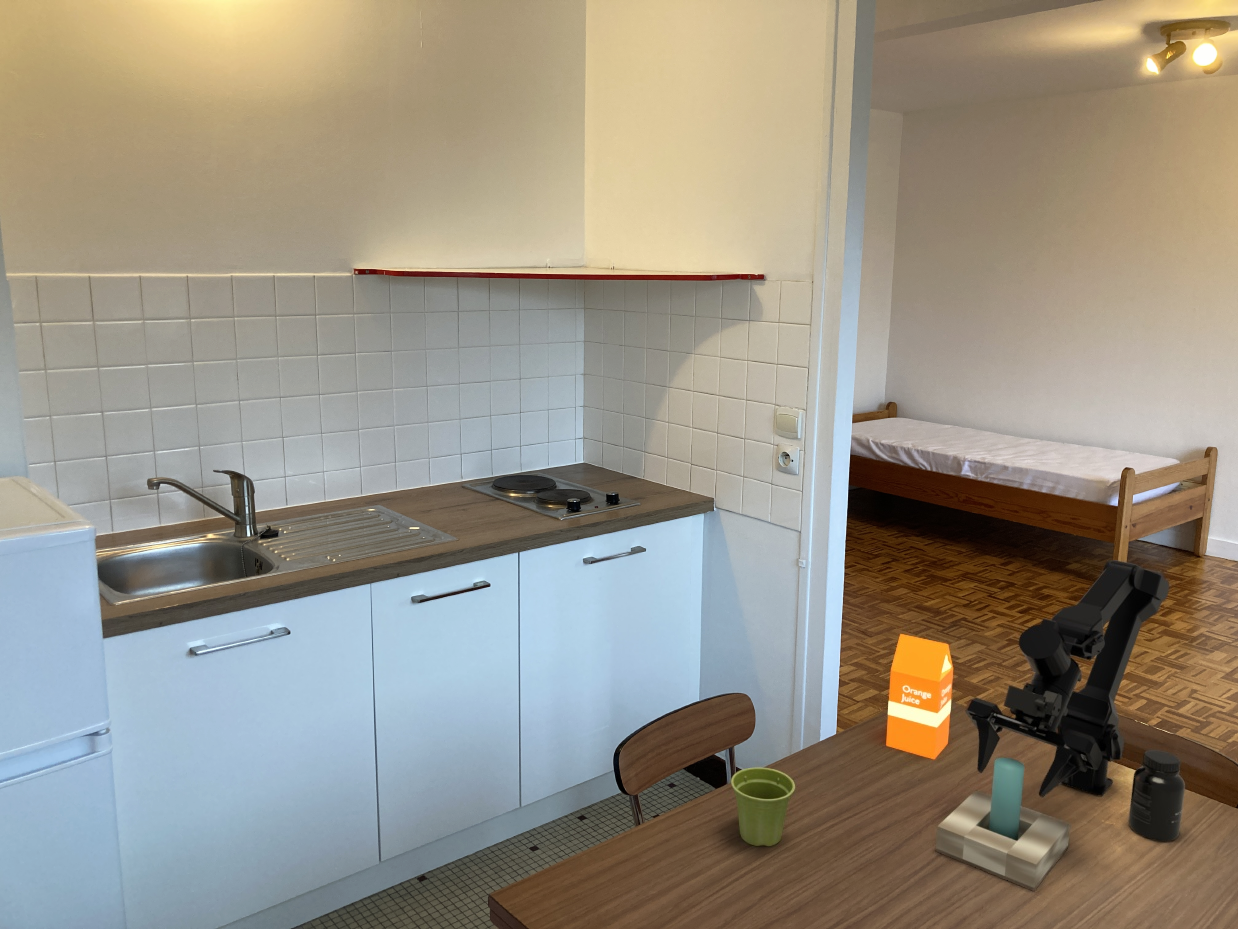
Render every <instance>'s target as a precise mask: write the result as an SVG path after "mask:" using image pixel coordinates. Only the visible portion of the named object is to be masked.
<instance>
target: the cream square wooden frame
mask: <svg viewBox="0 0 1238 929" xmlns="http://www.w3.org/2000/svg"><path fill="white" fill-rule="evenodd" d="M991 799H992V794H988V793H985V792H982V791H980V790H977V789H976V790H975V791H973V792H972V793H971V794H970V795H969V796H968V797H967V798H966V799H965V800H964V801H963V802H961V804H960V805H958V806H957V807H956V808H955V809H954V810H953V811H952V812H951V813H950V814H949V815H948V816H947V817H946V818H945V819H944V820H942V821H941V822H940V823H939V824H938V825H937V828H936V841H935V852H936V853H940V854H942V855H944V856H945V857H946V856H947V857H948V858H951V859H954V860H957V861H958V862H961V863H964V864H966V865H968V866H971V867H973V868H975V867H976V869H977V870H980V869H982V870H981V871H983V872H986V873H988V872H989V873H988V874H990V875H993V876H995V877H998V878H1000V879H1003V880H1004V881H1005V880H1006V881H1007V880H1008V882H1010V883H1013V884H1015V885H1018V886H1020V887H1023V888H1026V889H1027V890H1030V891H1033V892H1034V891H1036V890H1037V888H1038V887H1039V885H1040V884H1041V883H1042V882H1043V880H1044V879H1045V878H1046V877H1047V876H1048V874H1049V873H1050V872H1051V870H1052V869H1053V868H1054V867H1055V865H1056V864H1057V863H1056V862H1059V860H1060V859H1061V857H1062V856H1064V854H1065V852H1067V850H1068V849H1069V838H1070V831H1071V823H1070V822H1067V821H1065V820H1062V819H1060V818H1057V817H1054V816H1050V815H1048V814H1045V813H1042V812H1040V811H1036V810H1034V809H1031V808H1028V807H1025V806H1022V805H1021V811H1020V822H1019V833H1018V841H1016V840H1013V839H1010V838H1008V837H1005V836H1002V835H1000V834H997V833H994V832H992V831H989V822H990V810H991Z"/></svg>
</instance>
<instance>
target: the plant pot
mask: <svg viewBox="0 0 1238 929" xmlns="http://www.w3.org/2000/svg"><path fill="white" fill-rule="evenodd" d="M730 784H731V787H732V789H733V791H734V795H735V798H736V805H737V806H736V807H737V816H738V823H739V824H738V825H739V826H738V827H739V834H740V836H741V839H742V840H743V841H744V842H745V843H747V844H749V845H752V846H755V847H760V846H766V847H772V846H775V845H777V844H778V843H779V842H780V841H781V840H782V836H783V830H784V824H785V819H786V815H787V810H788V807H789V805H788V804H789V802H790V800H791V797H792V796H793V794H794V792H795V790H796V785H795V782H794V780H793V778H791V777H790V775H787V774H786V773H785V772H782V771H780V770H778V769H773V768H768V767H757V766H756V767H749V768H744V769H741V770H738V771H736V773H734V774H733V775H732V777H731V779H730Z"/></svg>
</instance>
